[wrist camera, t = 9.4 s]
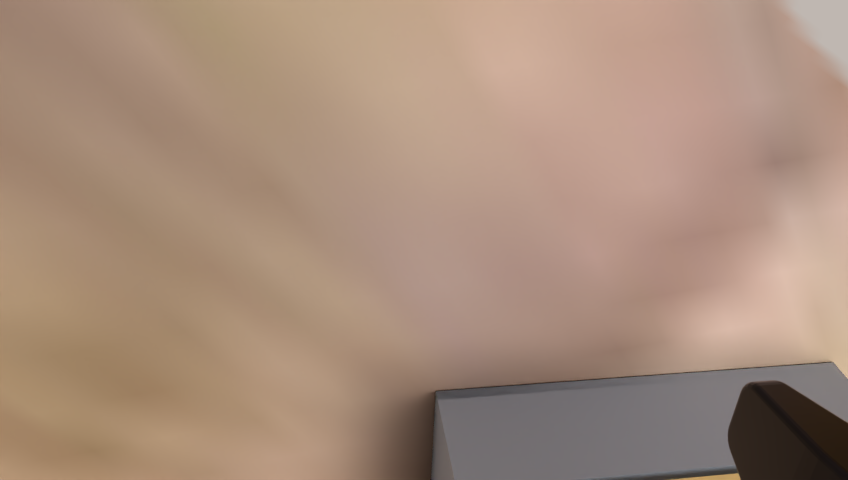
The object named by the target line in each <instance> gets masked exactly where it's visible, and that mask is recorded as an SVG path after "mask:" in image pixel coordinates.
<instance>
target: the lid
mask: <svg viewBox="0 0 848 480" xmlns="http://www.w3.org/2000/svg"><path fill="white" fill-rule="evenodd" d="M670 480H741V479H740V476H739V474H738V473H736V474H725V475H714V476H703V477H692V478H681V479H670Z"/></svg>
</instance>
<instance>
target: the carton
mask: <svg viewBox="0 0 848 480" xmlns="http://www.w3.org/2000/svg"><path fill="white" fill-rule="evenodd" d="M769 380H777V381H781V382H783V383H785V384H787V385H789V386H790V387H792V388H794V389H795V390H797V391H798V392H800V393H801V394H803V395H805V396H806V397H808V398H809V399H811V400H813V401H814V402H816V403H817V404H819V405H821V406H822V407H824V408H825V409H827V410H829V411H830V412H832V413H833V414H835V415H837V416H838V417H840V418H841V419H843V420H845V421H846V422H848V379H847V378H846V377H845V375H844V374H843V373H842V372H841V371H840V370H839V368H838V367H837V366H836V365H835V364H834V363H833V362H831V363H817V364H804V365H790V366H776V367H762V368H749V369H735V370H721V371H708V372H694V373H680V374H666V375H653V376H639V377H625V378H612V379H598V380H584V381H570V382H557V383H543V384H529V385H516V386H502V387H488V388H474V389H461V390H447V391H436V396H435V415H434V434H433V452H432V471H431V480H670V479H681V478H692V477H703V476H714V475H725V474H736V473H738V471H737V468H736V465H735V463H734V460H733V457H732V454H731V452H730V449H729V444H728V428H729V425H730V422H731V419H732V416H733V413H734V410H735V407H736V404H737V401H738V398H739V395H740V392H741V390H742V388H743V387H744V386H745V385H746V384H747V383H749V382H755V381H769Z"/></svg>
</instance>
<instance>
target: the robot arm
mask: <svg viewBox="0 0 848 480" xmlns="http://www.w3.org/2000/svg"><path fill="white" fill-rule="evenodd" d="M728 444H729V449H730V452H731V454H732V457H733V460H734V463H735V465H736V468H737V471H738V474H739V476H740V479H741V480H848V422H846V421H845V420H843V419H841V418H840V417H838V416H837V415H835V414H833V413H832V412H830V411H829V410H827V409H825V408H824V407H822V406H821V405H819V404H817V403H816V402H814V401H813V400H811V399H809V398H808V397H806V396H805V395H803V394H801V393H800V392H798V391H797V390H795V389H794V388H792V387H790V386H789V385H787V384H785V383H783V382H781V381H777V380H769V381H755V382H749V383H747V384H746V385H745V386H744V387H743V388H742V390H741V392H740V395H739V398H738V401H737V404H736V407H735V410H734V413H733V416H732V419H731V422H730V425H729V428H728Z"/></svg>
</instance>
